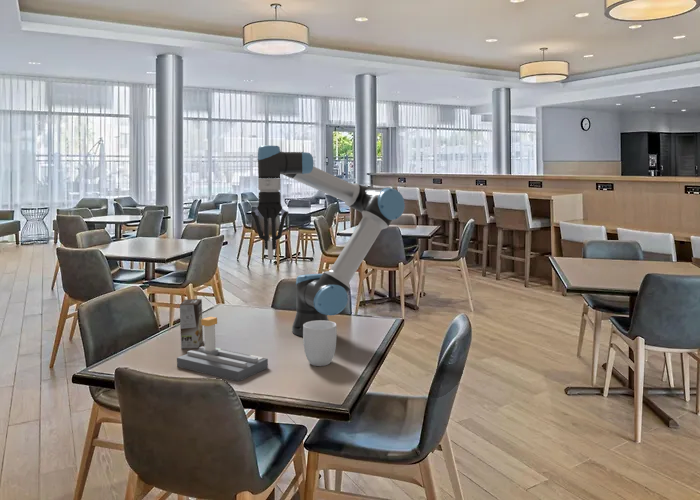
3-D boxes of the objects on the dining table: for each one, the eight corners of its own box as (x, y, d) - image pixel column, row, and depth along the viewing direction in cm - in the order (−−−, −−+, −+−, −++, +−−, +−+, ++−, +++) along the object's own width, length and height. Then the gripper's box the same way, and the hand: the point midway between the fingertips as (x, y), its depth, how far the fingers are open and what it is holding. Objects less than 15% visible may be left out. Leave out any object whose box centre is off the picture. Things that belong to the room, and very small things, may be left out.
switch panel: (267, 367, 182) (267, 355, 181) (238, 381, 170) (238, 367, 169) (208, 354, 195) (207, 342, 194) (177, 366, 183) (176, 354, 182)
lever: (219, 353, 185) (218, 317, 183) (210, 357, 182) (209, 320, 180) (210, 351, 187) (209, 316, 185) (201, 355, 184) (200, 318, 182)
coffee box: (199, 348, 202) (197, 304, 200) (180, 348, 202) (179, 304, 199) (203, 340, 211) (201, 298, 209) (185, 341, 211) (184, 299, 209)
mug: (300, 355, 195) (300, 318, 193) (332, 353, 197) (332, 316, 195) (305, 369, 180) (304, 329, 178) (339, 367, 182) (339, 328, 180)
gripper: (248, 191, 191) (250, 260, 194) (286, 191, 190) (287, 260, 194) (252, 190, 198) (254, 257, 201) (289, 190, 198) (290, 257, 201)
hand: (270, 258), depth 197 cm, fingers closed
